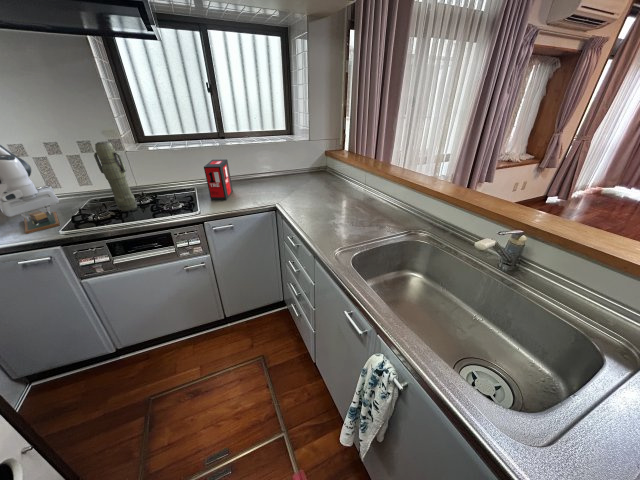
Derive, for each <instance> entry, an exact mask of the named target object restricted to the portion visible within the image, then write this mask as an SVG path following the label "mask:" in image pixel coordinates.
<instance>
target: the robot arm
mask: <svg viewBox="0 0 640 480" xmlns="http://www.w3.org/2000/svg"><path fill="white" fill-rule="evenodd" d="M31 175H32V166H31V165H30V164H29V163H28V162H27V161H25V160H24V159H23V158H21V157H20V156H17V155H15V154H14V153H12V152H11V151H10V150H8V149H7V148H6V147H4V146H3V145H2V144H0V185H5V188H6V189H5V190H3V191H1V192H0V211H1V213H2V215H4V216H6V217H8V218H11V217H15V216H18V215H19V216H20V217H22V218H25V219H26V220H27V221H31V220H32V219H31V217H30V216H26V213H28V212H32V211H36V210H39V209H42V208H45V211H44V213H45V214H46V215H51V206H52V205H55V204H59V202H60V199H59V197H58V196H57V195H56V193H55V190H54V188H53V187H52V186H50V185H42V186H37V187H36V185H35V184H34V182H33V180H32V179H30V176H31Z"/></svg>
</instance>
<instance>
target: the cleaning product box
mask: <svg viewBox="0 0 640 480" xmlns="http://www.w3.org/2000/svg"><path fill="white" fill-rule="evenodd" d="M203 170H204V175H205V179H206V183H207V188H208V193H209V198H210V201H212V202H213V201H214V202H216V201H217V202H218V201H219V202H220V201H227V200H228V199H229V198H230V196H231V194H232V193H233V191H234V190H233V189H234V188H233V185H232V183H233V182H232V178H231V174H230V167H229V161H228V159H226V158H225V159H211V160H210V161H209V162H208V163H207V164H205V165H204V166H203Z"/></svg>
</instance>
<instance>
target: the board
mask: <svg viewBox="0 0 640 480" xmlns="http://www.w3.org/2000/svg"><path fill="white" fill-rule="evenodd" d="M50 213H51V215H46V216H47V217H48V219H49V220H48V221H45V222H42V223H37V222H34V221H33V220H31V221H27V220H26V219H25V218H24V217H23V218H24V219H23V223H24V232H25V234H26V235H28V234H31V233H35V232H39V231H43V230H47V229H51V228H56V227H59V226H61V224H60V221H59V217H58V215H57V212H56V211H50Z"/></svg>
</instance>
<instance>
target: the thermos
mask: <svg viewBox="0 0 640 480" xmlns="http://www.w3.org/2000/svg"><path fill="white" fill-rule="evenodd" d="M94 148H95V152H94V154H93V157H94V159H95V162H96V164H97V167H98V169H99V171H100V173H101V174H103V175H104V177H105V179H106V180H107V182H108V185H109V186H110V189H111V192H112V193H113V199H114V201H115V204H116V206H117V208H118V210H119V211H120V210H121V211H120V212H128V211H129V212H130V211H133V210H135V209H137V208H138V205H137V201H136V198H135V196H134V194H133V193H132V191H131V188H130V185H129V183H128V180H127V175H126V172H127V169H126V166H125V163H124V159H123V156H122V154H121V153H120V152H119V151H116V149H115V146H114V145H113V144H112V143H111V142H110V141H97V142H96V143H95V144H94Z"/></svg>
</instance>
